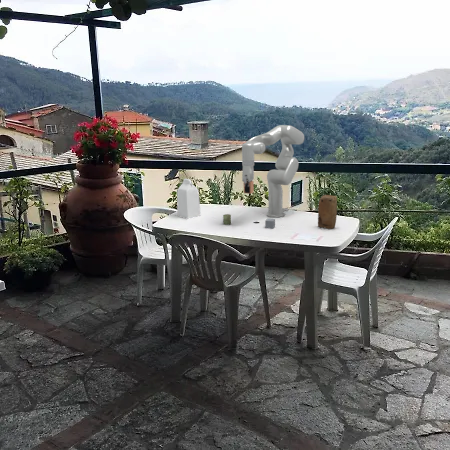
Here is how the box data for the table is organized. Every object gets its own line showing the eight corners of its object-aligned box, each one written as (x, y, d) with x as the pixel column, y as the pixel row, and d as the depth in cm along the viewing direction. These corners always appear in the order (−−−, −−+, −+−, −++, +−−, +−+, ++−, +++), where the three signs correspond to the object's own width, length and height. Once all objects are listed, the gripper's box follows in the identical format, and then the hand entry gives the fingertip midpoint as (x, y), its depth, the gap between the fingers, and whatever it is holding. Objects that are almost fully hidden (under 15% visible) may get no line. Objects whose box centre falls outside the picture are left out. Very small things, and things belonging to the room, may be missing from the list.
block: (337, 227, 280) (338, 195, 274) (333, 230, 273) (334, 197, 268) (320, 224, 285) (321, 193, 280) (316, 227, 279) (316, 196, 274)
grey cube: (267, 226, 286) (267, 218, 285) (275, 226, 285) (275, 219, 283) (265, 228, 282) (265, 220, 280) (273, 228, 280) (273, 221, 279)
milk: (177, 216, 317) (175, 179, 310) (190, 213, 325) (188, 177, 318) (187, 219, 309) (185, 181, 302) (200, 215, 316) (199, 179, 309)
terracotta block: (246, 191, 290) (246, 181, 288) (253, 192, 288) (253, 181, 286) (243, 193, 285) (243, 182, 284) (251, 193, 284) (251, 182, 282)
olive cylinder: (228, 222, 297) (227, 213, 295) (232, 224, 293) (232, 215, 291) (221, 224, 294) (221, 215, 292) (226, 225, 290) (226, 216, 288)
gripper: (246, 161, 291) (247, 188, 296) (238, 165, 275) (238, 194, 280) (258, 161, 288) (258, 189, 293) (249, 165, 273) (250, 194, 278)
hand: (248, 191), depth 287 cm, fingers closed on terracotta block, 5 cm apart
